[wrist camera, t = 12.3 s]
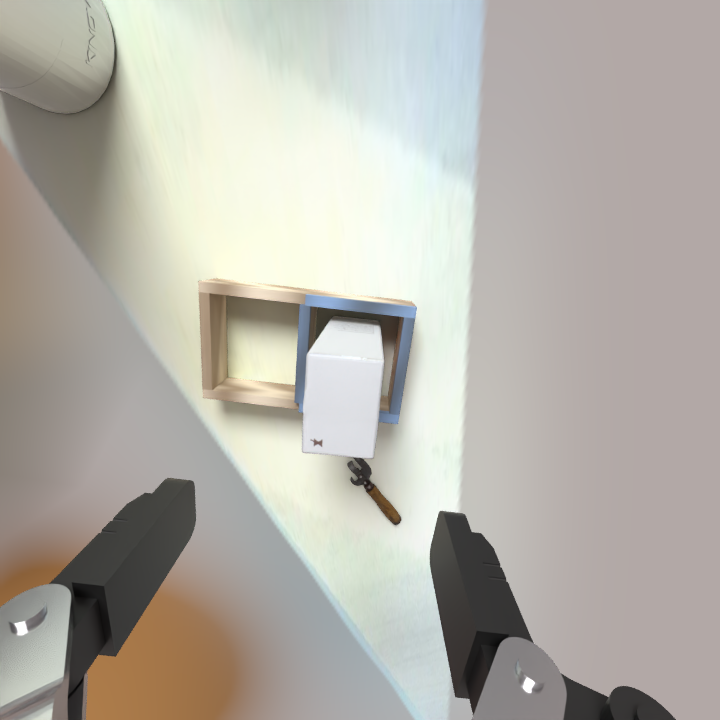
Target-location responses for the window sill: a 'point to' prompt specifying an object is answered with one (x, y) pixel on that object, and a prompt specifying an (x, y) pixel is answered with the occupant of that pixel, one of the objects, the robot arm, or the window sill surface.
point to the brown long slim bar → (373, 490)
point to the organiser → (309, 300)
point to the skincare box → (343, 389)
